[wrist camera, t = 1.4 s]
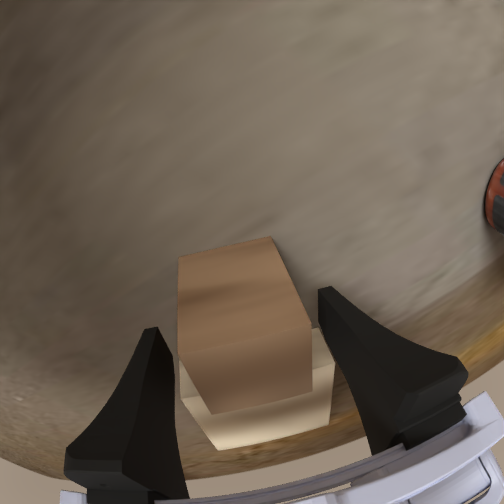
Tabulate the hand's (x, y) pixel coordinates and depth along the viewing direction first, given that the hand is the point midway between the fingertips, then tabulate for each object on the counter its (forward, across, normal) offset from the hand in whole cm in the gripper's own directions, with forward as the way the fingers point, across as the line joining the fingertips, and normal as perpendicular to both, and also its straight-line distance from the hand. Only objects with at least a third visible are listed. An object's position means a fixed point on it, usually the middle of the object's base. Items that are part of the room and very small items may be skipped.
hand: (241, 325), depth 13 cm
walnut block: (+3, 0, 0) cm, 3 cm away
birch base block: (+3, 0, +10) cm, 10 cm away
